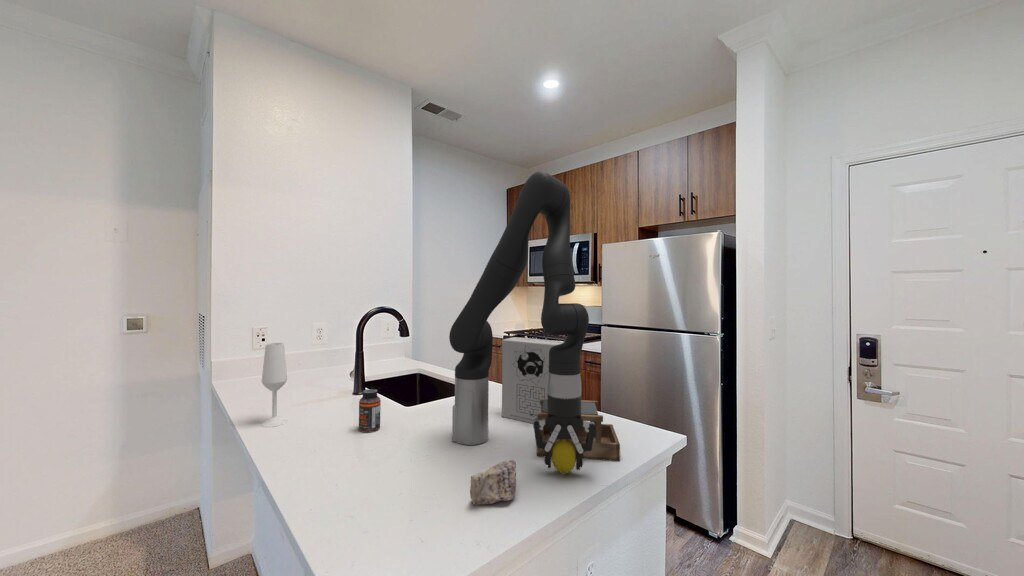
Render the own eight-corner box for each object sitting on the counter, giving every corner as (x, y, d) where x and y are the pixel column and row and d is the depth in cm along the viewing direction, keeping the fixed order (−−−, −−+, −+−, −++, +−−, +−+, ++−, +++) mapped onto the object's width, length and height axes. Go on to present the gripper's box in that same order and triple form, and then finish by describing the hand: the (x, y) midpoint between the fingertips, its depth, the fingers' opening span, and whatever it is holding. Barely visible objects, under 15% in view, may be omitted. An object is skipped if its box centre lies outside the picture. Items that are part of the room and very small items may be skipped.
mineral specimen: (493, 518, 72) (494, 484, 71) (464, 506, 76) (464, 473, 76) (530, 489, 82) (531, 459, 82) (503, 479, 86) (503, 451, 86)
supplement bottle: (354, 431, 114) (354, 392, 114) (368, 424, 119) (369, 387, 119) (370, 434, 111) (370, 394, 111) (384, 427, 117) (384, 389, 117)
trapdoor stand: (536, 456, 98) (537, 414, 98) (539, 435, 112) (540, 398, 112) (619, 461, 95) (620, 418, 95) (612, 438, 109) (612, 401, 109)
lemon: (575, 481, 85) (575, 444, 85) (550, 478, 86) (550, 442, 86) (576, 469, 91) (576, 434, 91) (552, 467, 92) (552, 432, 92)
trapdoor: (541, 419, 99) (541, 412, 99) (543, 406, 110) (543, 400, 110) (598, 421, 98) (598, 414, 98) (594, 408, 108) (594, 402, 108)
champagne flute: (288, 424, 119) (288, 344, 119) (261, 428, 115) (262, 346, 115) (286, 417, 125) (286, 341, 125) (260, 421, 121) (261, 343, 121)
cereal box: (573, 423, 122) (573, 342, 122) (562, 430, 115) (563, 345, 115) (513, 410, 133) (514, 336, 133) (501, 417, 127) (501, 339, 127)
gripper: (531, 395, 86) (530, 473, 86) (598, 398, 84) (597, 477, 84) (533, 386, 93) (532, 458, 93) (595, 389, 91) (594, 462, 91)
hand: (563, 467), depth 89 cm, fingers open, 5 cm apart
